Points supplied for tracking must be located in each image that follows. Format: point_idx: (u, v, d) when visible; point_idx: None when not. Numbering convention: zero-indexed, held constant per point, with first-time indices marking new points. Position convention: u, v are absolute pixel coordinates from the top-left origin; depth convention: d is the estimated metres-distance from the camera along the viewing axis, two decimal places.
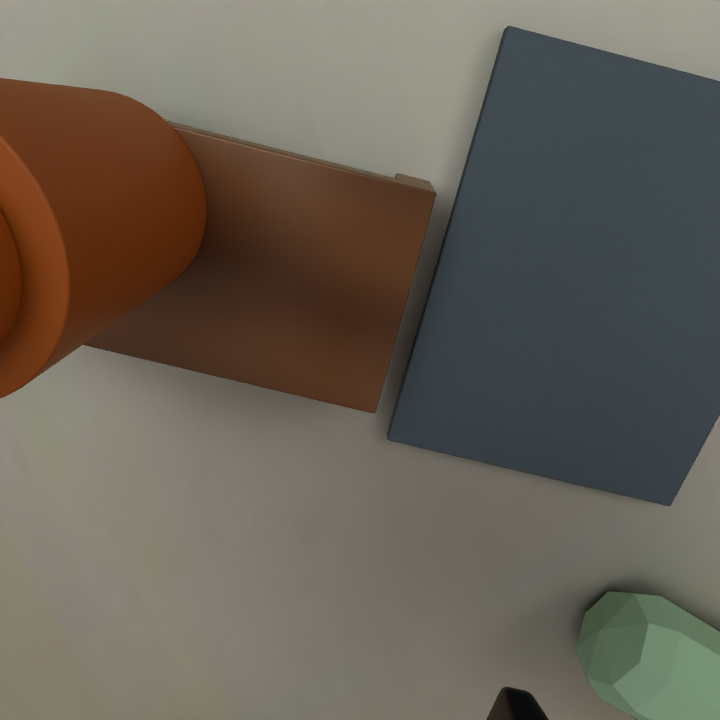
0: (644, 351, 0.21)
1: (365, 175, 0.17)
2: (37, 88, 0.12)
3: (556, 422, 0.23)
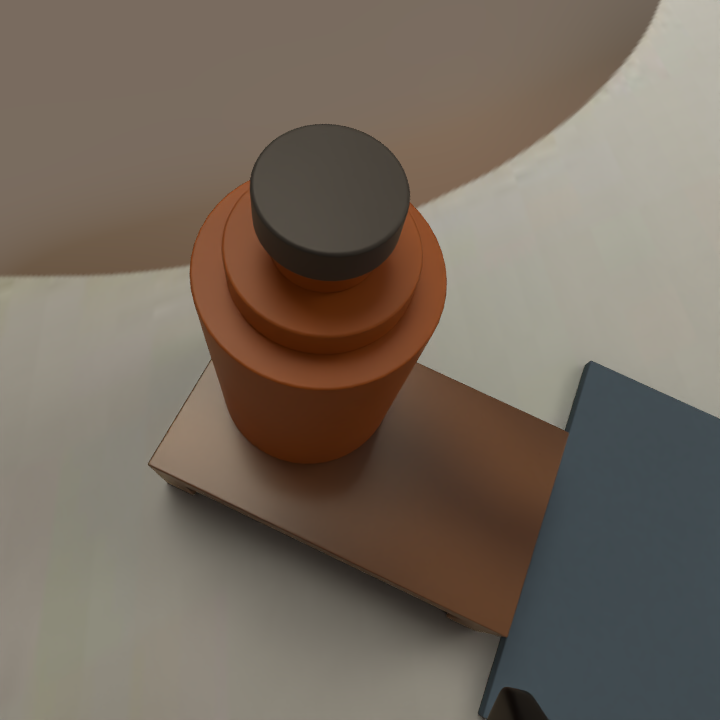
0: None
1: (516, 408, 0.22)
2: None
3: (661, 719, 0.21)
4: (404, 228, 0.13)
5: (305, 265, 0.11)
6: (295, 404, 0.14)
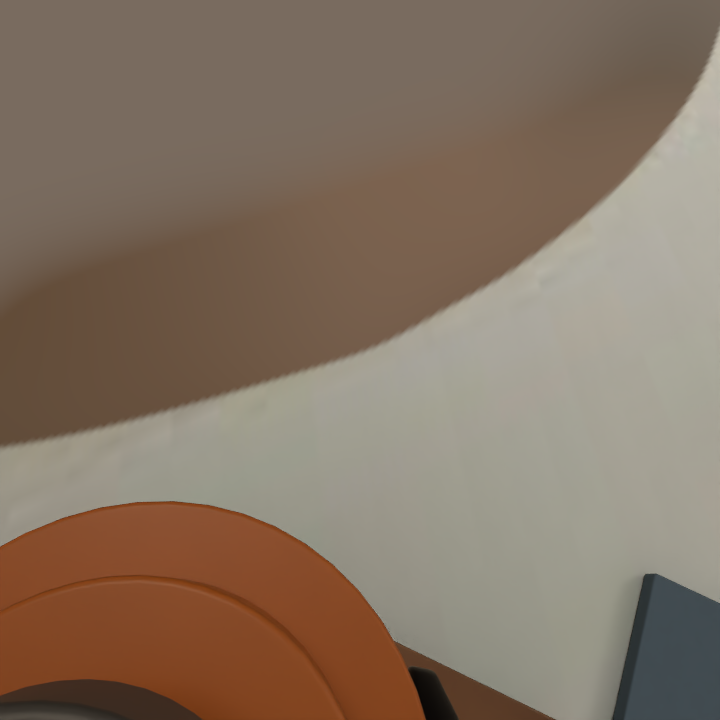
0: None
1: None
2: None
3: None
4: None
5: None
6: None
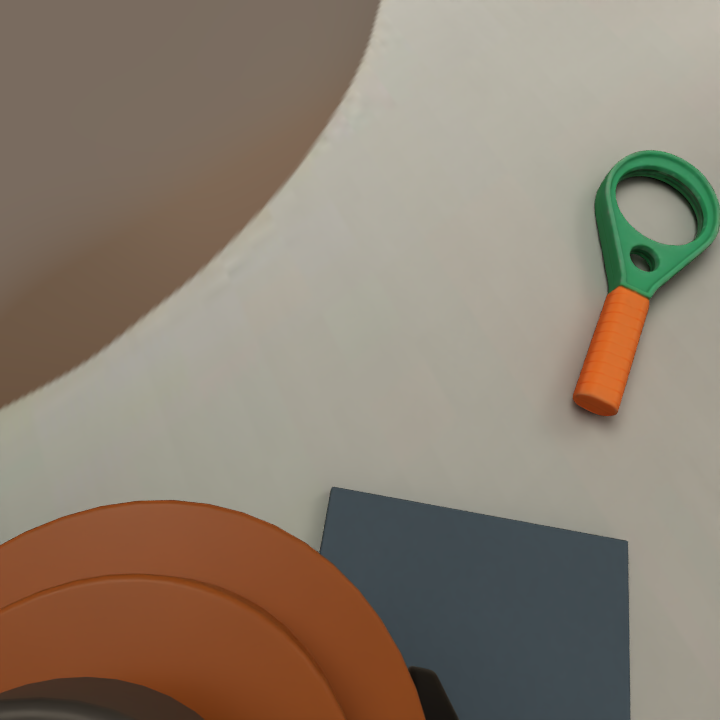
0: None
1: None
2: None
3: None
4: None
5: None
6: None
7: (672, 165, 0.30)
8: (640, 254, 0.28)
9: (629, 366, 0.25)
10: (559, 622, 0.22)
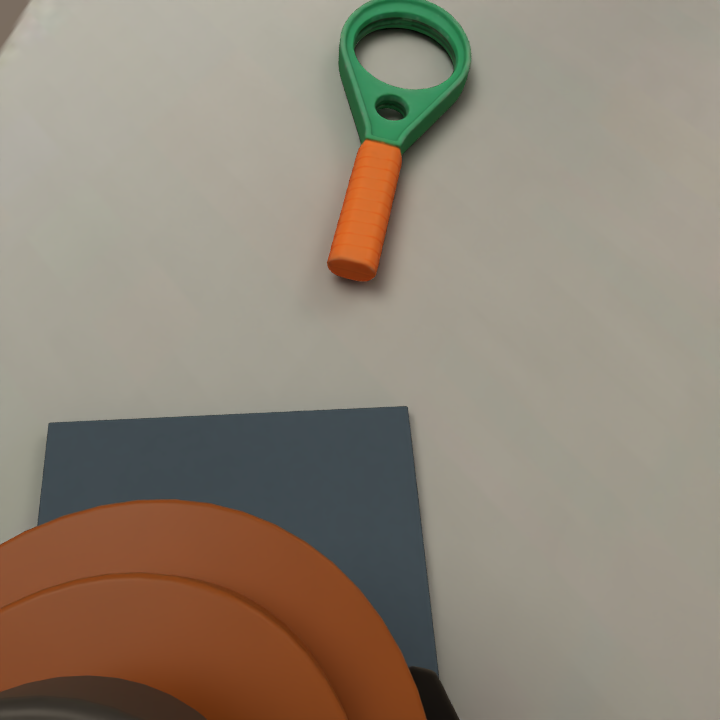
0: None
1: None
2: None
3: None
4: None
5: None
6: None
7: (414, 8, 0.27)
8: (392, 107, 0.26)
9: (382, 220, 0.22)
10: (338, 510, 0.19)
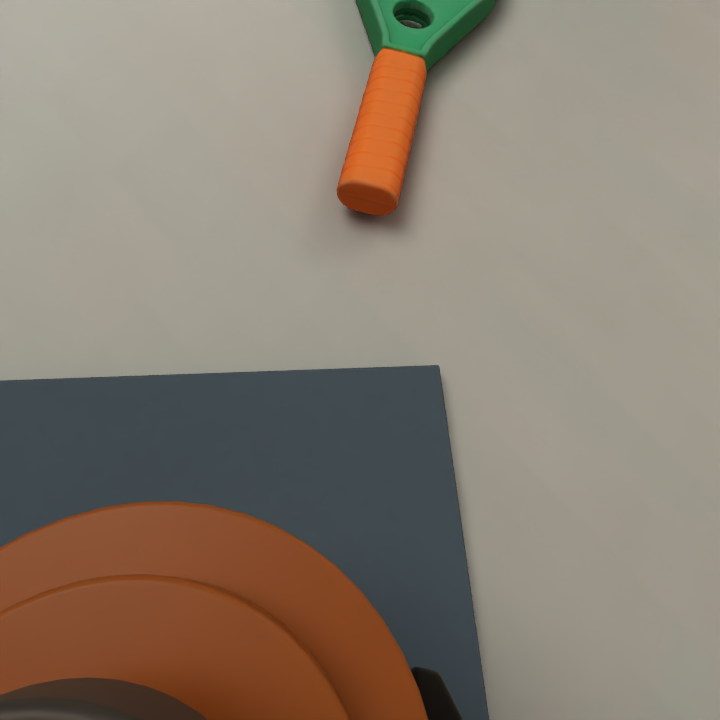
0: None
1: None
2: None
3: None
4: None
5: None
6: None
7: None
8: (412, 17, 0.21)
9: (405, 139, 0.18)
10: (352, 494, 0.15)
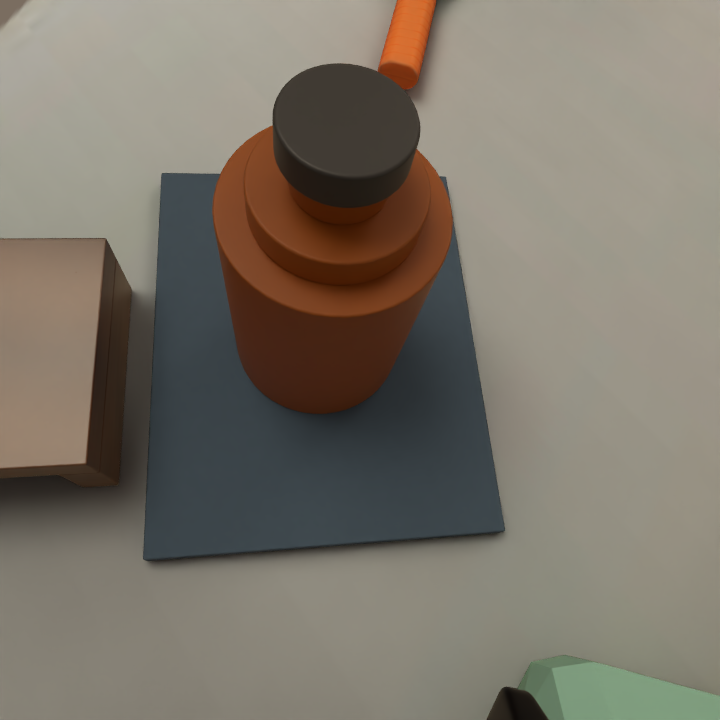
0: None
1: None
2: None
3: (332, 469, 0.20)
4: (413, 168, 0.14)
5: (324, 190, 0.12)
6: (311, 336, 0.14)
7: None
8: None
9: (423, 38, 0.27)
10: None
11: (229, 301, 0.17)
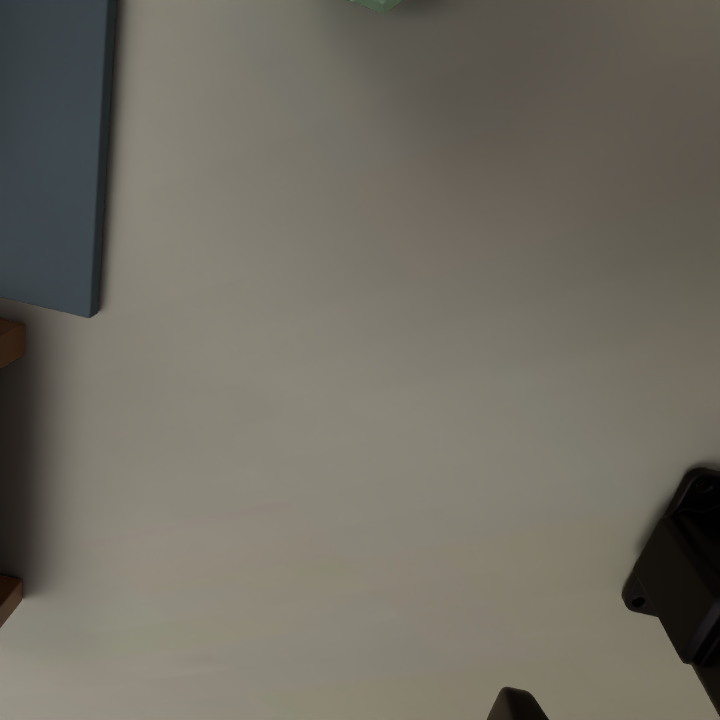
0: None
1: None
2: None
3: (15, 101, 0.17)
4: None
5: None
6: None
7: None
8: None
9: None
10: None
11: None
